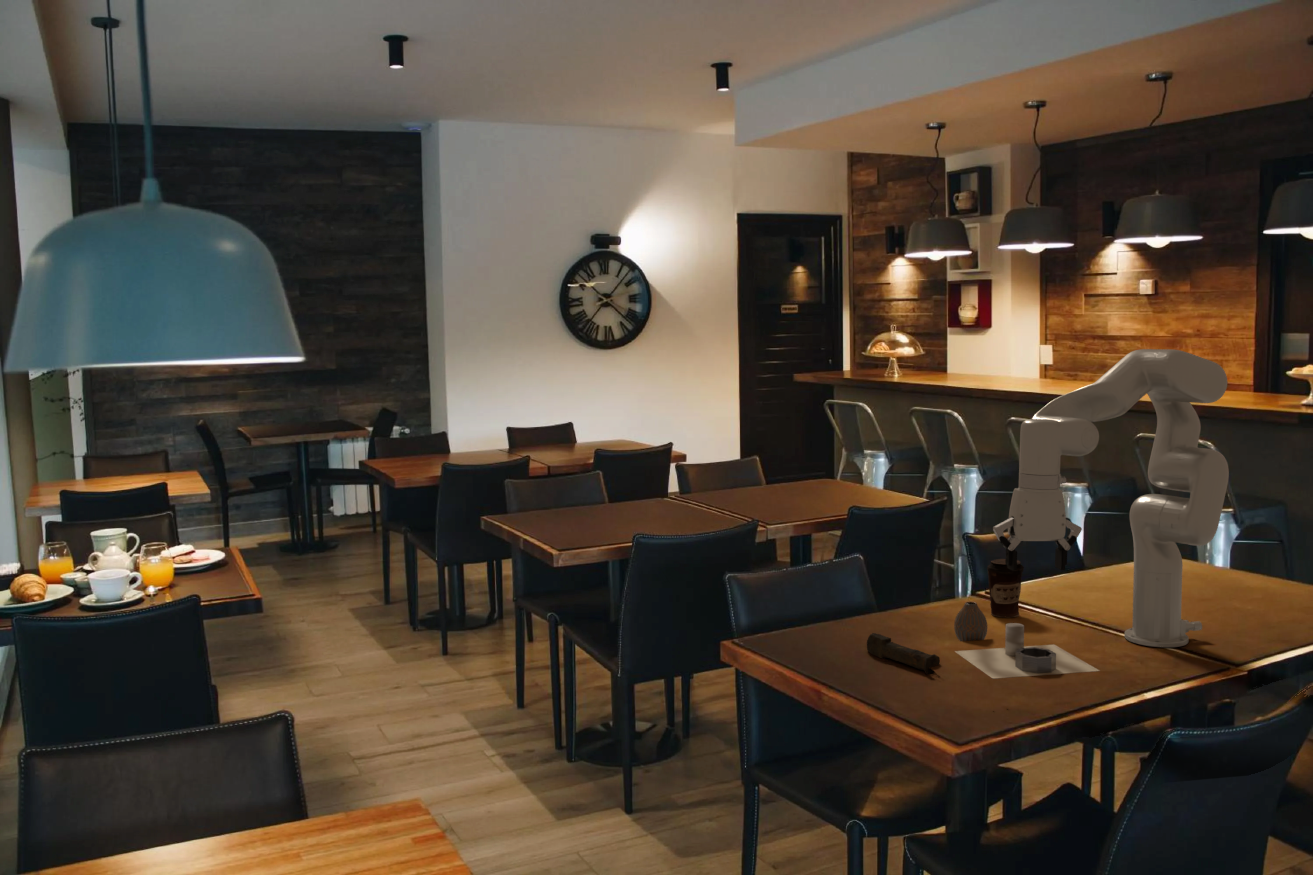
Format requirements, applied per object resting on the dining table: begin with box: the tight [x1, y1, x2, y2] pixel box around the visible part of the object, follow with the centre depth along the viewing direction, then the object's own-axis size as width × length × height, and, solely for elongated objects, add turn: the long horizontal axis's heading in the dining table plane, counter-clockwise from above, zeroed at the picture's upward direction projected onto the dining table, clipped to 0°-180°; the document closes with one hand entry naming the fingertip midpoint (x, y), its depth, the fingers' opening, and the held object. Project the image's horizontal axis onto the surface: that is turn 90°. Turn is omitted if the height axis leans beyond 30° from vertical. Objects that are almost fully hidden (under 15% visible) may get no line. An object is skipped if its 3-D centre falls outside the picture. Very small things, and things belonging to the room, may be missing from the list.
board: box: [954, 622, 1101, 679], centre depth 222 cm, size 22×18×8 cm
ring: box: [1015, 647, 1056, 673], centre depth 218 cm, size 7×7×3 cm
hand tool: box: [866, 632, 941, 675], centre depth 228 cm, size 19×4×5 cm, turn 30°
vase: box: [953, 601, 988, 642], centre depth 240 cm, size 7×7×9 cm
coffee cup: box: [986, 558, 1025, 618], centre depth 261 cm, size 9×8×13 cm
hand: (1035, 569), depth 217 cm, fingers open, 9 cm apart
